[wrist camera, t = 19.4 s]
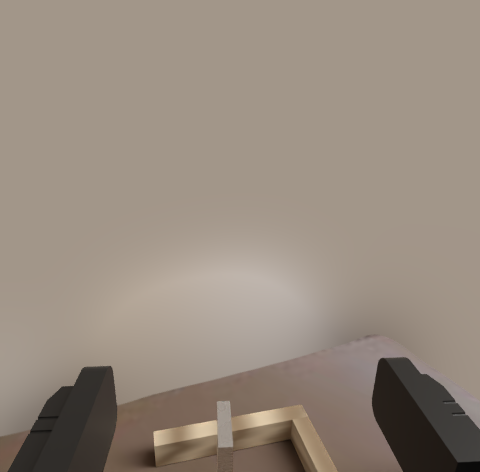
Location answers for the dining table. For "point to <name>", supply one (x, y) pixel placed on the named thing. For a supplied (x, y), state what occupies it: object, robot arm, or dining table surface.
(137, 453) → the dining table surface
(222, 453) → the bracket
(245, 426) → the wooden l-shaped corner
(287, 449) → the dining table surface
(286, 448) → the dining table surface
